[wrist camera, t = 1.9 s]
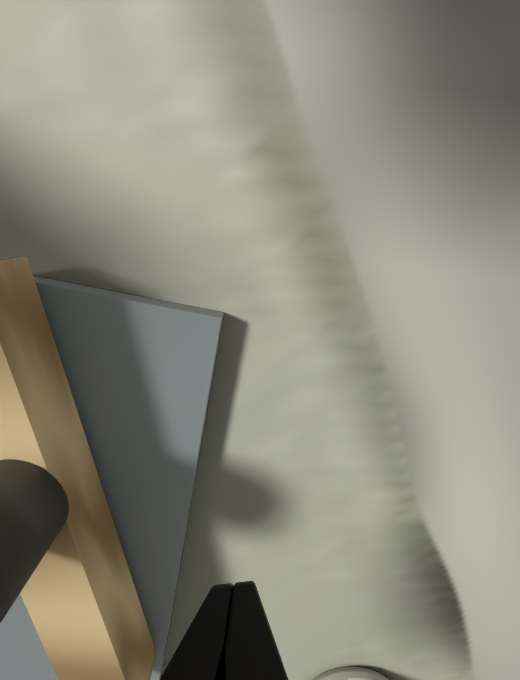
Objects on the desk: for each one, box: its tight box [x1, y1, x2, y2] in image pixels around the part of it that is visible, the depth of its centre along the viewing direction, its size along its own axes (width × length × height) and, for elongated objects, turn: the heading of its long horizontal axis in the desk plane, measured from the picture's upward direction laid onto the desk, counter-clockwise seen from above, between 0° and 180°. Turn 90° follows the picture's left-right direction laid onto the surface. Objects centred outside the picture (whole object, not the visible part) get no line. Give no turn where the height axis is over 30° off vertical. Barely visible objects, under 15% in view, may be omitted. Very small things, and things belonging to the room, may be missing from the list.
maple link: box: [0, 256, 156, 680], centre depth 12 cm, size 18×3×5 cm, turn 9°
